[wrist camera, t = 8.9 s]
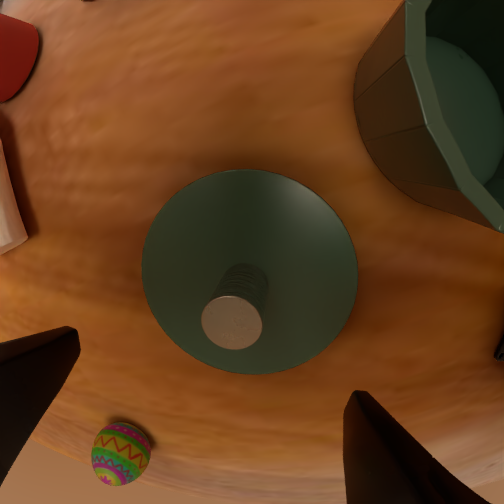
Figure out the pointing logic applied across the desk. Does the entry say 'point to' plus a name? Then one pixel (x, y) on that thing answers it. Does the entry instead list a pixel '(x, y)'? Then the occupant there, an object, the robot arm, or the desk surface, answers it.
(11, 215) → the white bottle
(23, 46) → the beer can
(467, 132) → the bin
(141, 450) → the egg
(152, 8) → the desk surface
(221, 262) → the bin lid
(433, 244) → the desk surface
